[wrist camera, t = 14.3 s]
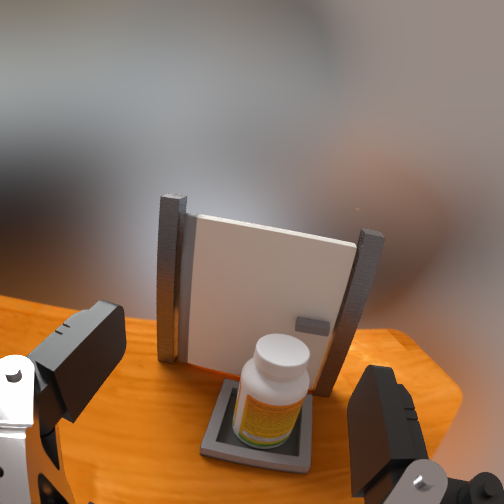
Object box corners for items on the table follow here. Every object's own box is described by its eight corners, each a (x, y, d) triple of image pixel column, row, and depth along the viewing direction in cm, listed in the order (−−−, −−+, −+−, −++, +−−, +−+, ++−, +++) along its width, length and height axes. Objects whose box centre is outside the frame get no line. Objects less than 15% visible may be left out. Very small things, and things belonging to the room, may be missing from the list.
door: (171, 368, 30) (176, 218, 24) (180, 352, 32) (188, 211, 27) (311, 398, 28) (360, 253, 23) (311, 380, 31) (354, 242, 26)
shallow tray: (199, 454, 21) (200, 447, 20) (223, 386, 29) (224, 378, 29) (306, 474, 20) (310, 467, 20) (309, 403, 28) (312, 394, 28)
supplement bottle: (301, 439, 23) (334, 362, 20) (247, 458, 21) (269, 381, 18) (272, 401, 28) (294, 323, 25) (222, 414, 25) (234, 333, 22)
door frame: (157, 360, 31) (160, 196, 25) (163, 350, 33) (169, 193, 27) (328, 397, 29) (385, 237, 23) (328, 386, 31) (379, 231, 25)
